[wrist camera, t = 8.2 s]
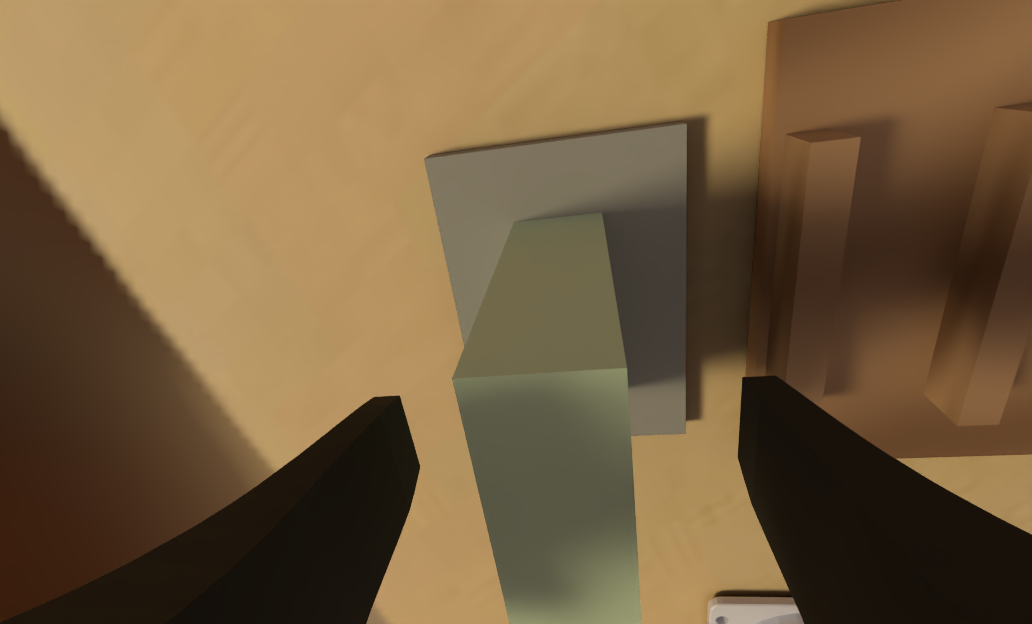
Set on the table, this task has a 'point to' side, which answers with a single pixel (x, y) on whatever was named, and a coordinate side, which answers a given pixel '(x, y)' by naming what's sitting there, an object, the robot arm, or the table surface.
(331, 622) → the robot arm
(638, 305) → the mat
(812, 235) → the rack
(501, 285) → the sage green box
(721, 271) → the table surface
